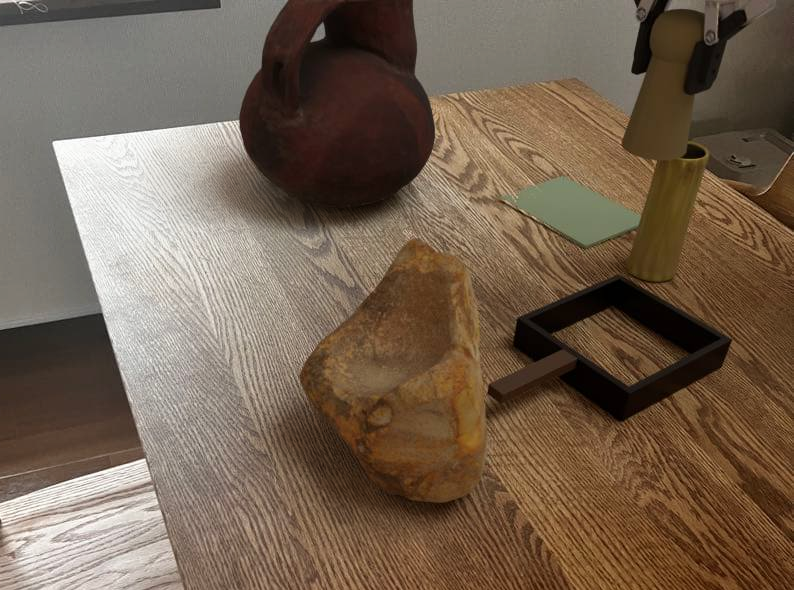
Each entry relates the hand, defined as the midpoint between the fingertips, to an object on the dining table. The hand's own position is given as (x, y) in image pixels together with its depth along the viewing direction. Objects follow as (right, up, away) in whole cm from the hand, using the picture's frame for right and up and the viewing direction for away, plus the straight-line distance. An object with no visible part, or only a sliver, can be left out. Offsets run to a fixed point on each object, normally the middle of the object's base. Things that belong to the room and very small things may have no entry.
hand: (670, 78), depth 73 cm
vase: (+7, -8, +27) cm, 29 cm away
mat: (0, +3, +37) cm, 37 cm away
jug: (-32, +7, +40) cm, 51 cm away
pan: (-5, -24, +12) cm, 27 cm away
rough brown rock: (-25, -31, +6) cm, 40 cm away
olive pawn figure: (0, -4, +4) cm, 6 cm away
